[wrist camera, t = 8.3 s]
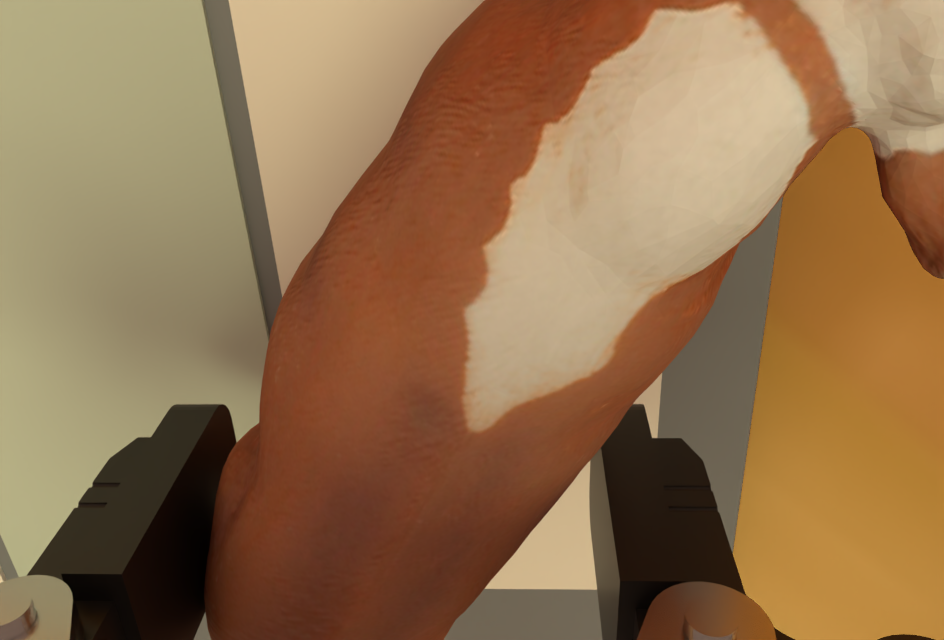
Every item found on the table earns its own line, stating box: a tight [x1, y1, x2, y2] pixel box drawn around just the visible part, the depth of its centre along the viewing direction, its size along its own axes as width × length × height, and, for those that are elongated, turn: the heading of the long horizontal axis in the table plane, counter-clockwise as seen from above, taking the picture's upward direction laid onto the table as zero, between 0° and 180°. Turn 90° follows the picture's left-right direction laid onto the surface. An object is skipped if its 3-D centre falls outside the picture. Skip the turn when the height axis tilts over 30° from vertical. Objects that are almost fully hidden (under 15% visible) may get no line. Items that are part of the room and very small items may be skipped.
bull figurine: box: [204, 0, 944, 640], centre depth 10 cm, size 4×13×8 cm, turn 147°
